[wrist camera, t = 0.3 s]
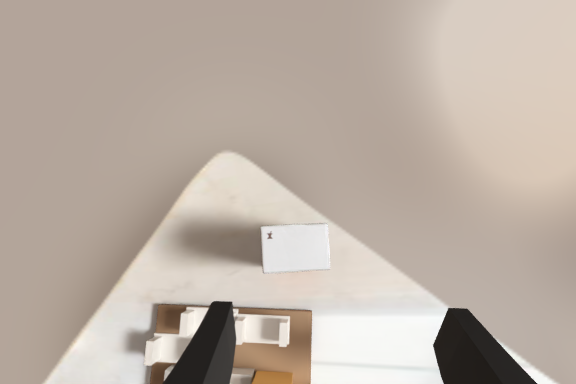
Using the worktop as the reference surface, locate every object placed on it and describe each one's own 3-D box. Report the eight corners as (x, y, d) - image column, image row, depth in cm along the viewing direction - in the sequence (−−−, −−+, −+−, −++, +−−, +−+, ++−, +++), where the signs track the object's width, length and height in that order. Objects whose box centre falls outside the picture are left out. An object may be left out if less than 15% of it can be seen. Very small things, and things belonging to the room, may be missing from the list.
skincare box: (272, 268, 40) (260, 274, 28) (271, 233, 40) (258, 224, 29) (322, 266, 39) (331, 270, 28) (320, 230, 40) (327, 220, 29)
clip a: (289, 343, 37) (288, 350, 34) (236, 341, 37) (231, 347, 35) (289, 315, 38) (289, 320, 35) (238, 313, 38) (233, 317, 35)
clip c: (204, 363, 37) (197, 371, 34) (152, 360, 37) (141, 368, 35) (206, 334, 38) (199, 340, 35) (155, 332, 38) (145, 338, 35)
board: (308, 465, 35) (308, 471, 35) (146, 454, 36) (142, 460, 35) (311, 310, 39) (311, 312, 38) (161, 304, 39) (158, 305, 38)
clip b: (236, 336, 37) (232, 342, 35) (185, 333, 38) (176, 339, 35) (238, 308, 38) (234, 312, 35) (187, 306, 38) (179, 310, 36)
